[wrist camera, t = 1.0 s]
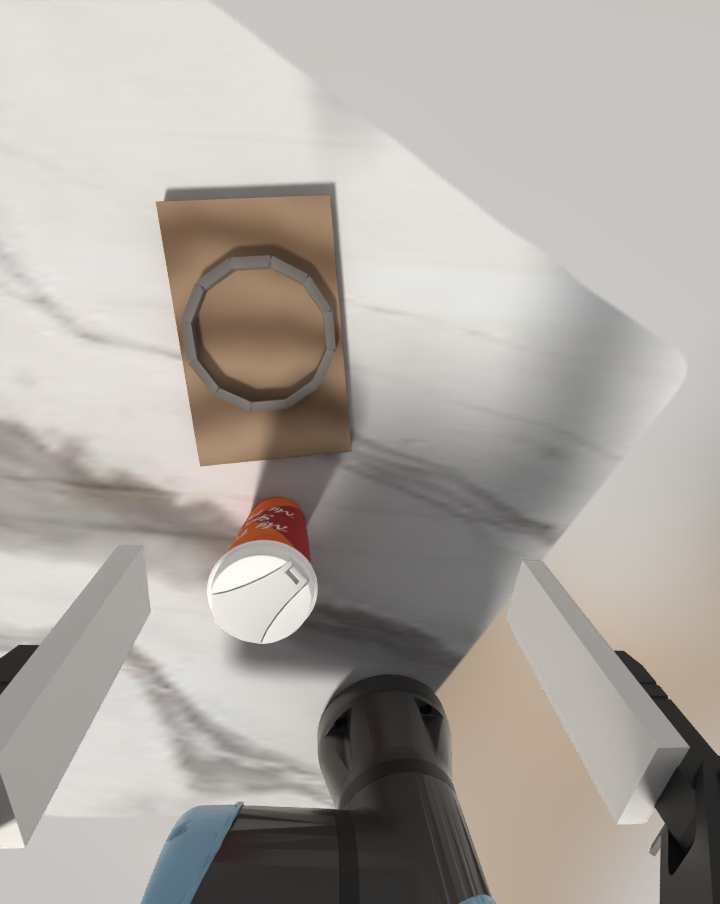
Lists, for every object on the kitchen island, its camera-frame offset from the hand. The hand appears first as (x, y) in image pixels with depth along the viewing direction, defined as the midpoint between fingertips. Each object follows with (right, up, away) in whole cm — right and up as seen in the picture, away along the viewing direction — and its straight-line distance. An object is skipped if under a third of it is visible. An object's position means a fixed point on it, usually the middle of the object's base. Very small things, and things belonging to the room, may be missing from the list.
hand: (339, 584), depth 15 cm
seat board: (-8, +15, +23) cm, 29 cm away
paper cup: (-8, -3, +27) cm, 29 cm away
